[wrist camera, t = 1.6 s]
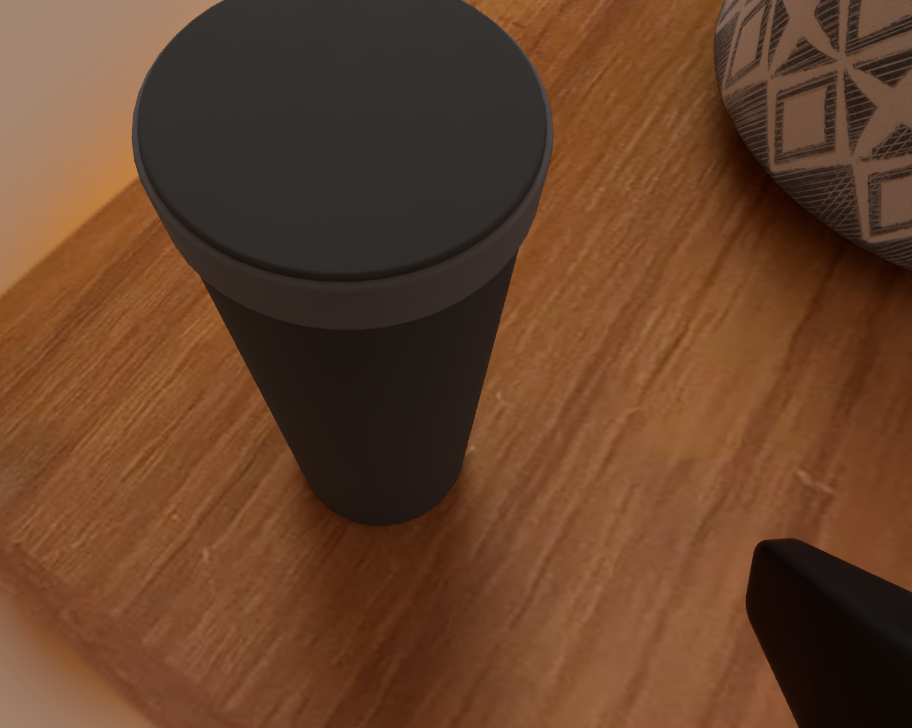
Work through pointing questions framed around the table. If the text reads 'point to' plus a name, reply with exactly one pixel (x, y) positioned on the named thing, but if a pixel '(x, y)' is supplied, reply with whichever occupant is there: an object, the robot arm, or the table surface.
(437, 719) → the table surface
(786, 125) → the planter
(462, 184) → the dark grey cylinder
